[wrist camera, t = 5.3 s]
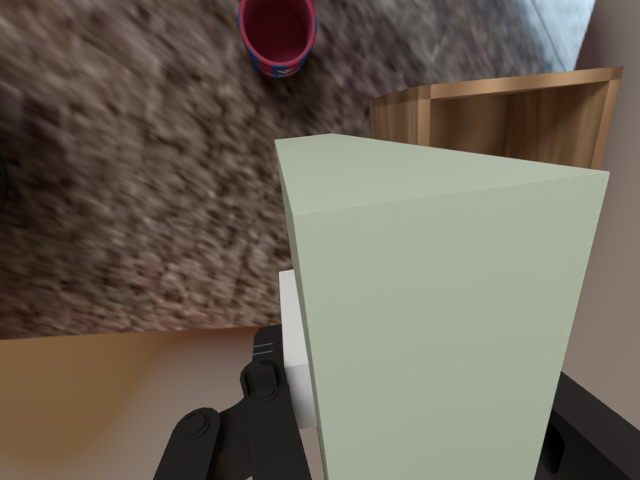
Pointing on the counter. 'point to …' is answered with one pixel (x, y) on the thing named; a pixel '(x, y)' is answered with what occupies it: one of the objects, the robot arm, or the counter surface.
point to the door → (434, 301)
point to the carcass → (507, 116)
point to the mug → (277, 34)
